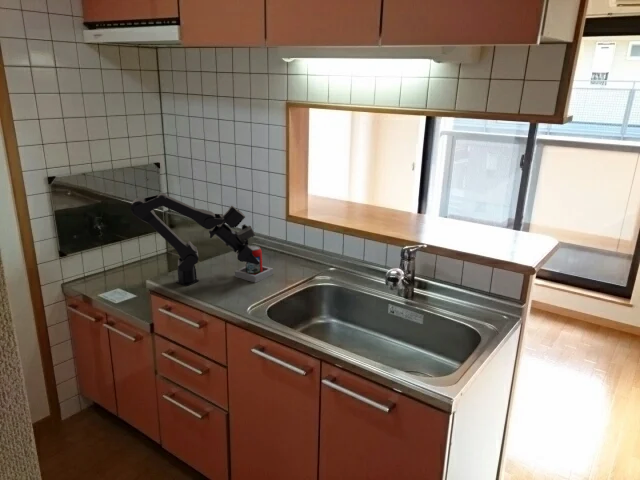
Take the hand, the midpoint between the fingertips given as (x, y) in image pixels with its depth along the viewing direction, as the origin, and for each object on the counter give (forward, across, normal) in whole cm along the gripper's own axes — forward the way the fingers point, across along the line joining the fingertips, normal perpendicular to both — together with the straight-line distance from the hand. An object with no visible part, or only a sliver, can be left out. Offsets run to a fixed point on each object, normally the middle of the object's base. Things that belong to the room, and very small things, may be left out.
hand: (257, 259), depth 201 cm
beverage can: (+4, 0, +6) cm, 7 cm away
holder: (+4, 0, +6) cm, 7 cm away
